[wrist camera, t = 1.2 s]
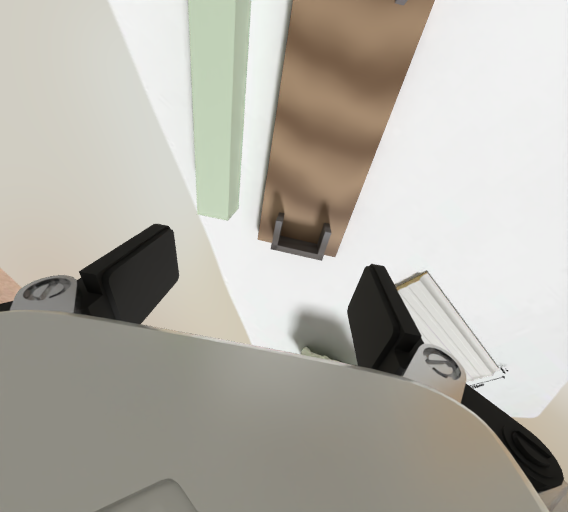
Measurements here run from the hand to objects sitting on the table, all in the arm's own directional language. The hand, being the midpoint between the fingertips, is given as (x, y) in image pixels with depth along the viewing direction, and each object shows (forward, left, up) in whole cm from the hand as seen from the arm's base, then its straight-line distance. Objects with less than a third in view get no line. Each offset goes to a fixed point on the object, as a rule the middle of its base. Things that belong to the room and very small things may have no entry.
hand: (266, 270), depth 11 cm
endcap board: (-6, +3, -21) cm, 22 cm away
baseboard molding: (+22, +34, -22) cm, 46 cm away
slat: (-7, -9, -22) cm, 25 cm away
